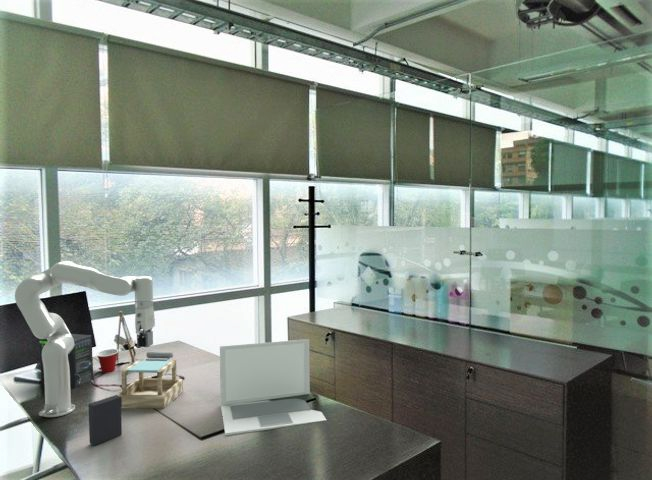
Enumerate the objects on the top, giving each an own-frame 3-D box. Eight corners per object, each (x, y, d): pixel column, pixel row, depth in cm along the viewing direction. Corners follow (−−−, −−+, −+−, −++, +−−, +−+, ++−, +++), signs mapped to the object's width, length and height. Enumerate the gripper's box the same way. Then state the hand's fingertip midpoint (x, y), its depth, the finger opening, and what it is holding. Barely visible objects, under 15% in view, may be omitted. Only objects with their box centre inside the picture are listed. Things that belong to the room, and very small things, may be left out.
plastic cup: (92, 374, 248) (91, 352, 248) (111, 369, 257) (110, 347, 257) (104, 378, 242) (103, 355, 242) (123, 372, 251) (122, 350, 251)
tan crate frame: (164, 410, 201) (163, 373, 201) (114, 409, 203) (113, 372, 202) (183, 391, 223) (182, 358, 223) (138, 390, 225) (137, 357, 224)
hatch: (158, 372, 205) (157, 363, 205) (127, 372, 206) (127, 363, 206) (175, 359, 224) (175, 351, 224) (147, 359, 225) (146, 350, 225)
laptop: (225, 437, 176) (224, 366, 175) (220, 408, 204) (219, 345, 203) (326, 424, 187) (326, 356, 186) (309, 397, 215) (308, 338, 214)
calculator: (116, 432, 181) (115, 394, 180) (122, 435, 178) (121, 396, 178) (88, 443, 172) (87, 403, 172) (94, 446, 170) (93, 406, 169)
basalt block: (148, 347, 205) (147, 333, 205) (137, 347, 206) (136, 333, 205) (153, 344, 210) (152, 331, 210) (142, 344, 211) (141, 330, 210)
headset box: (40, 384, 234) (38, 333, 233) (60, 377, 245) (59, 328, 244) (75, 389, 226) (73, 337, 225) (94, 381, 238) (93, 331, 237)
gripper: (143, 307, 198) (144, 350, 199) (160, 300, 215) (161, 339, 216) (126, 307, 199) (127, 349, 200) (144, 300, 216) (145, 339, 217)
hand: (145, 344), depth 208 cm, fingers closed on basalt block, 5 cm apart
